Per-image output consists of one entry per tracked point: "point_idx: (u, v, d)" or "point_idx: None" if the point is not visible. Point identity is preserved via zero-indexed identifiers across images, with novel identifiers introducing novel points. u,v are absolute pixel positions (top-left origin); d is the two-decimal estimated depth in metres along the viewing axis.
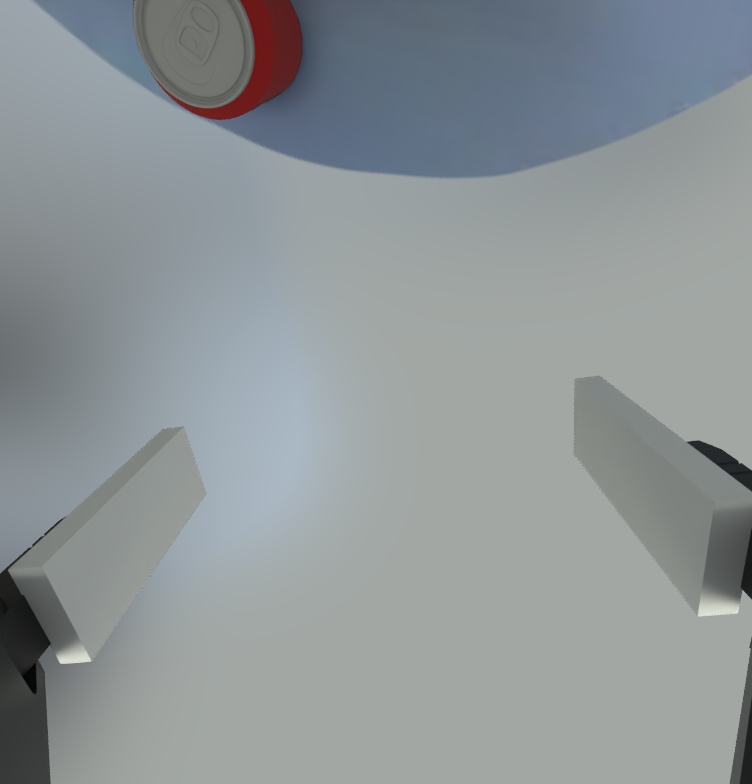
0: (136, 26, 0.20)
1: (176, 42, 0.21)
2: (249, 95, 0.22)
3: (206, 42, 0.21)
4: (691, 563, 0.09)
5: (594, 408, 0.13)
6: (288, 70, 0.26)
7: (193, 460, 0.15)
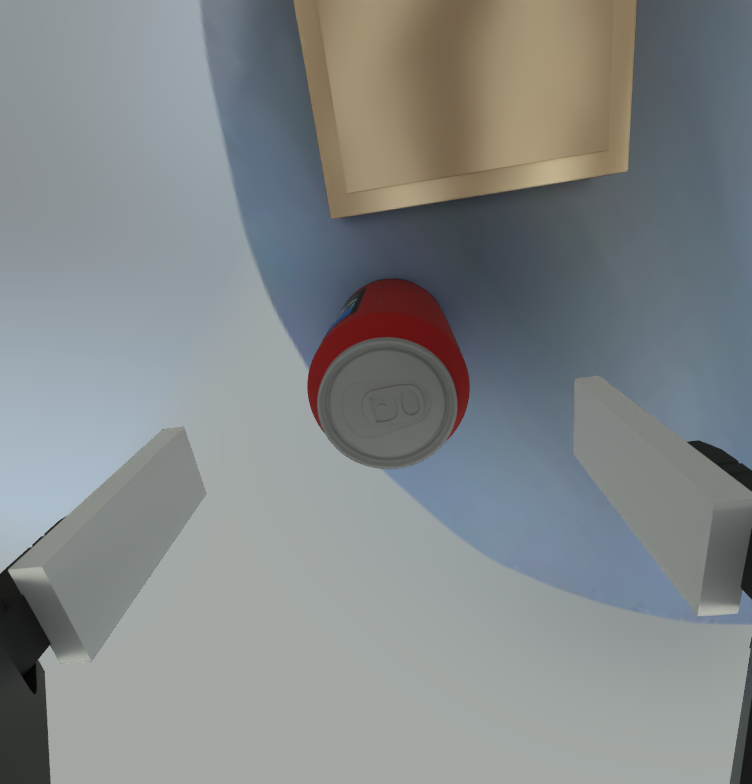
0: (343, 357, 0.16)
1: (368, 393, 0.17)
2: None
3: (394, 415, 0.17)
4: (691, 563, 0.09)
5: (594, 408, 0.13)
6: None
7: (193, 460, 0.15)
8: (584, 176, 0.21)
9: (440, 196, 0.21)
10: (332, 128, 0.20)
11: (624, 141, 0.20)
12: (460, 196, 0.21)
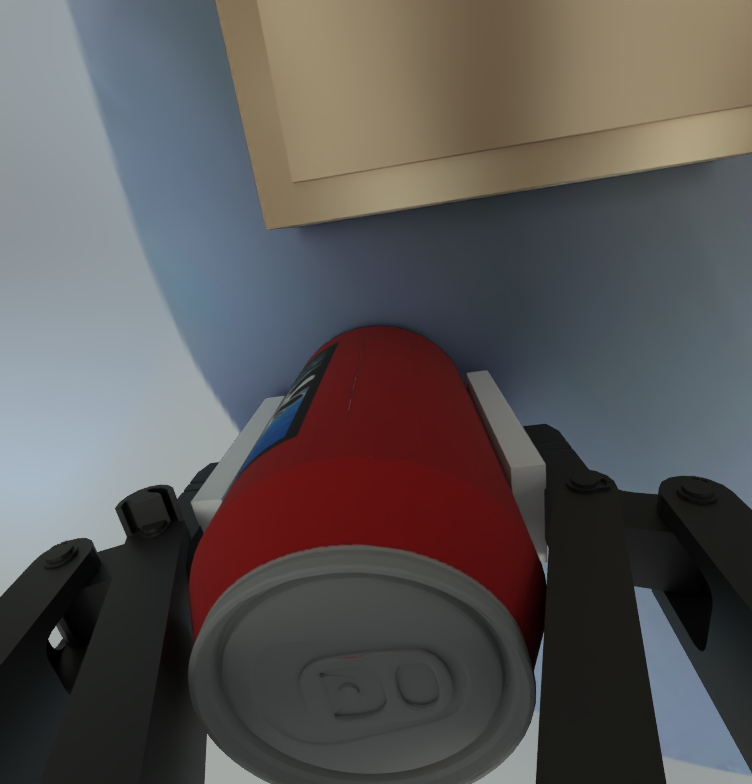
0: (244, 599, 0.06)
1: (313, 663, 0.07)
2: None
3: (380, 706, 0.07)
4: None
5: (474, 398, 0.15)
6: None
7: None
8: (743, 150, 0.11)
9: (467, 188, 0.11)
10: (260, 55, 0.11)
11: None
12: (505, 188, 0.11)
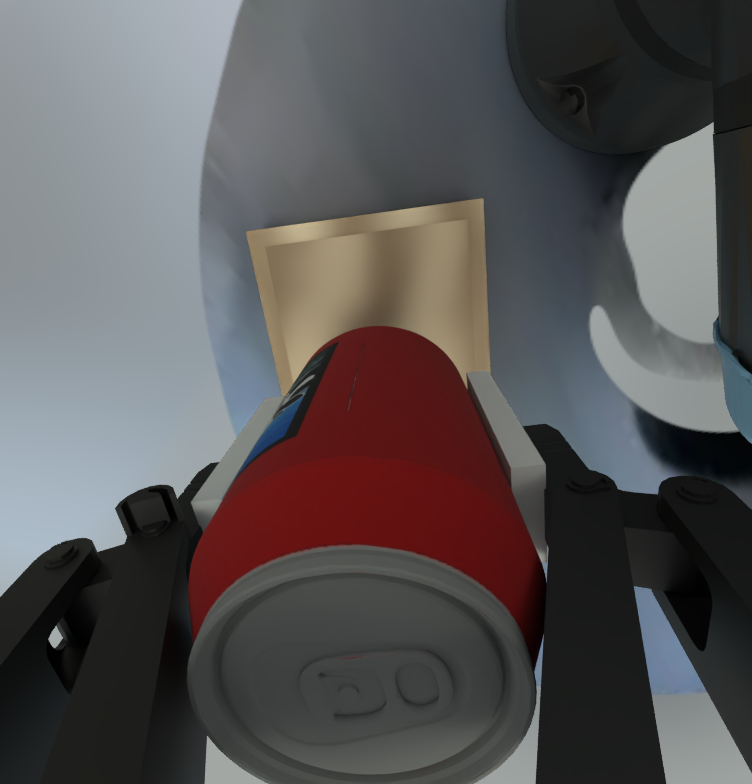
0: (243, 600, 0.06)
1: (312, 664, 0.07)
2: None
3: (380, 706, 0.07)
4: None
5: (473, 398, 0.15)
6: None
7: None
8: None
9: None
10: None
11: None
12: None
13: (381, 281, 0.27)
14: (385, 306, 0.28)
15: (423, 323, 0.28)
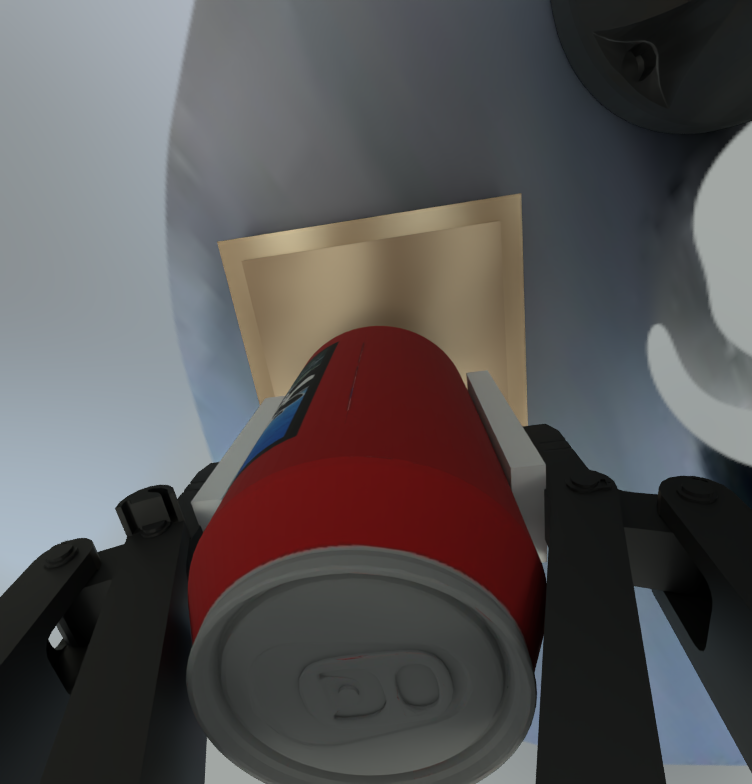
0: (243, 600, 0.06)
1: (312, 665, 0.07)
2: None
3: (380, 707, 0.07)
4: None
5: (473, 398, 0.15)
6: None
7: None
8: None
9: None
10: None
11: None
12: None
13: (389, 302, 0.21)
14: None
15: None
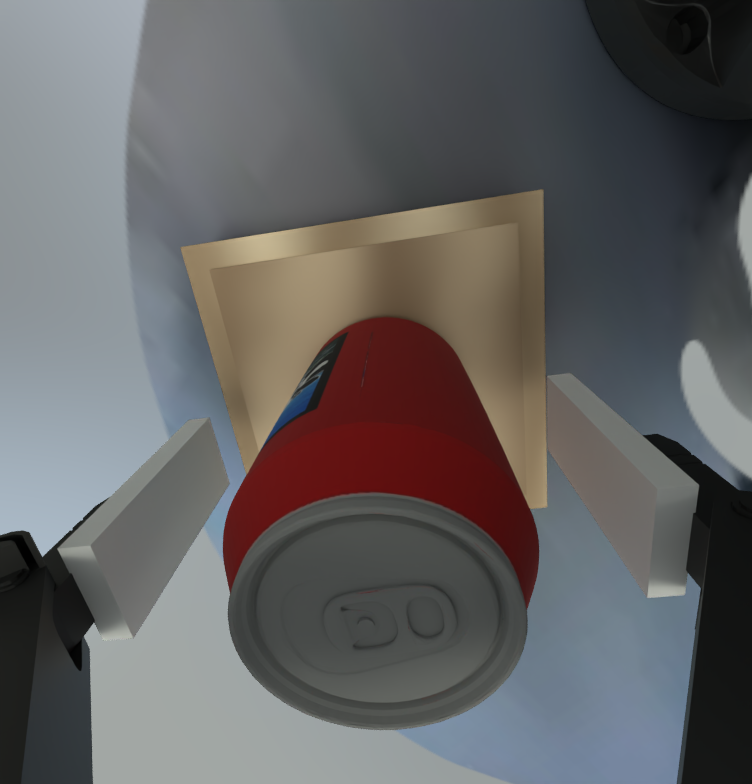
0: (278, 539, 0.07)
1: (335, 599, 0.08)
2: None
3: (393, 638, 0.08)
4: (641, 548, 0.09)
5: (563, 404, 0.13)
6: None
7: (217, 450, 0.16)
8: None
9: None
10: None
11: (542, 485, 0.21)
12: None
13: None
14: None
15: None
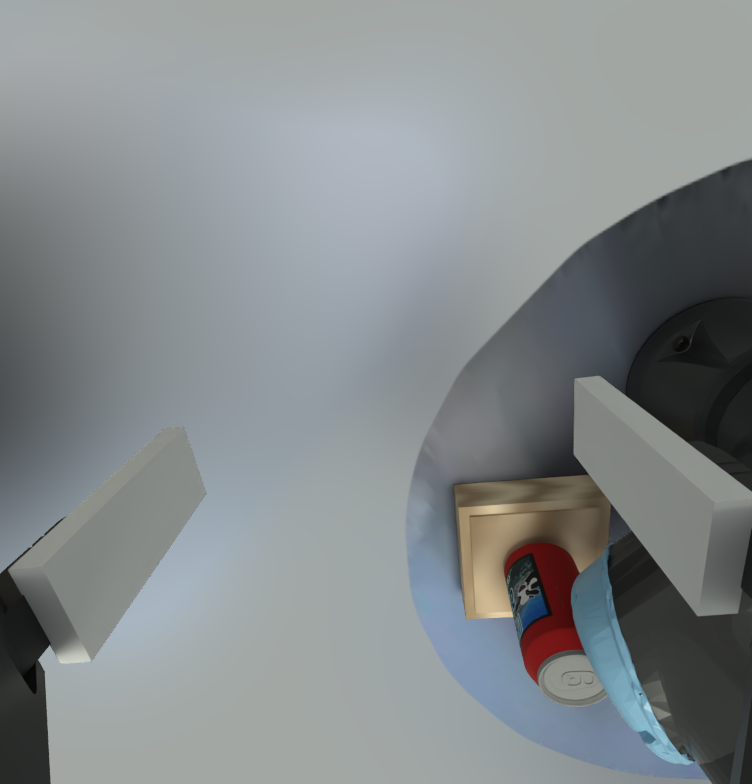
0: (558, 659, 0.32)
1: (566, 672, 0.32)
2: None
3: (578, 683, 0.33)
4: (691, 563, 0.09)
5: (594, 408, 0.13)
6: None
7: (193, 460, 0.15)
8: None
9: None
10: (471, 590, 0.46)
11: None
12: None
13: (541, 537, 0.43)
14: None
15: None
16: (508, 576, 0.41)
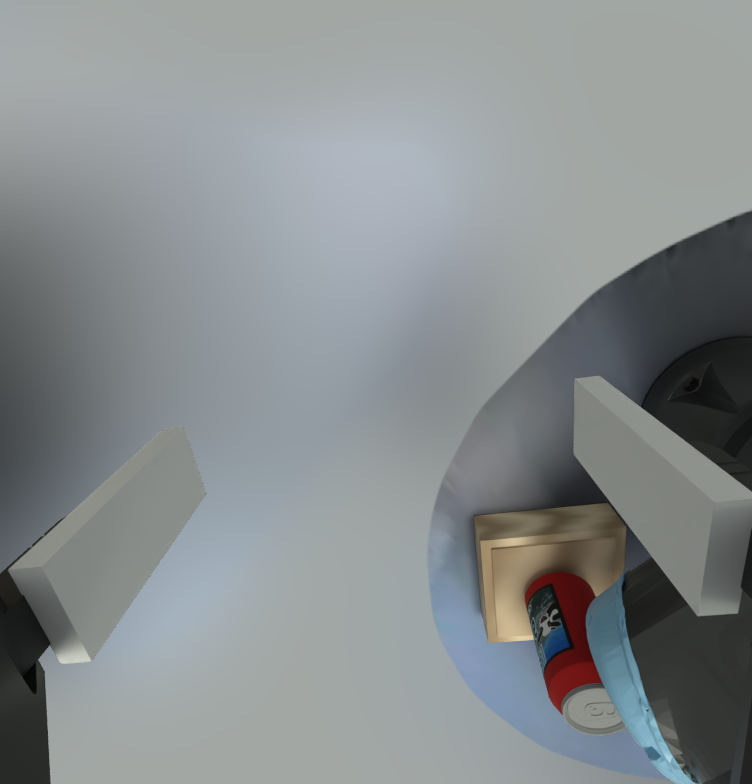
0: (581, 692, 0.34)
1: (589, 704, 0.34)
2: None
3: (601, 713, 0.35)
4: (691, 563, 0.09)
5: (594, 408, 0.13)
6: None
7: (193, 460, 0.15)
8: None
9: None
10: (493, 616, 0.48)
11: None
12: None
13: (559, 566, 0.45)
14: None
15: None
16: (529, 605, 0.43)
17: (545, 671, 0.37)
